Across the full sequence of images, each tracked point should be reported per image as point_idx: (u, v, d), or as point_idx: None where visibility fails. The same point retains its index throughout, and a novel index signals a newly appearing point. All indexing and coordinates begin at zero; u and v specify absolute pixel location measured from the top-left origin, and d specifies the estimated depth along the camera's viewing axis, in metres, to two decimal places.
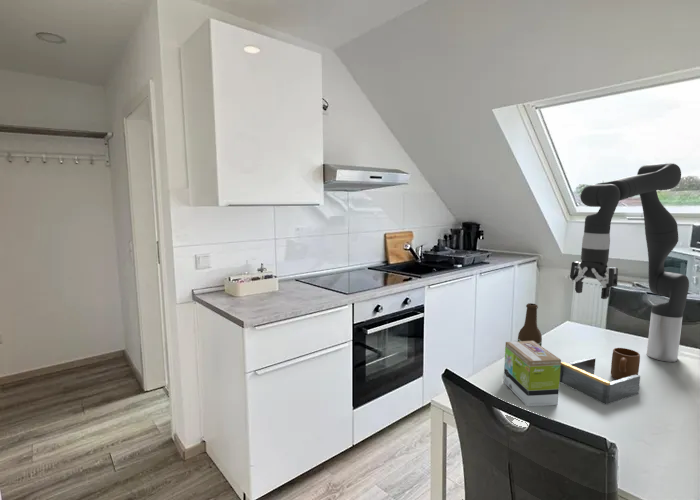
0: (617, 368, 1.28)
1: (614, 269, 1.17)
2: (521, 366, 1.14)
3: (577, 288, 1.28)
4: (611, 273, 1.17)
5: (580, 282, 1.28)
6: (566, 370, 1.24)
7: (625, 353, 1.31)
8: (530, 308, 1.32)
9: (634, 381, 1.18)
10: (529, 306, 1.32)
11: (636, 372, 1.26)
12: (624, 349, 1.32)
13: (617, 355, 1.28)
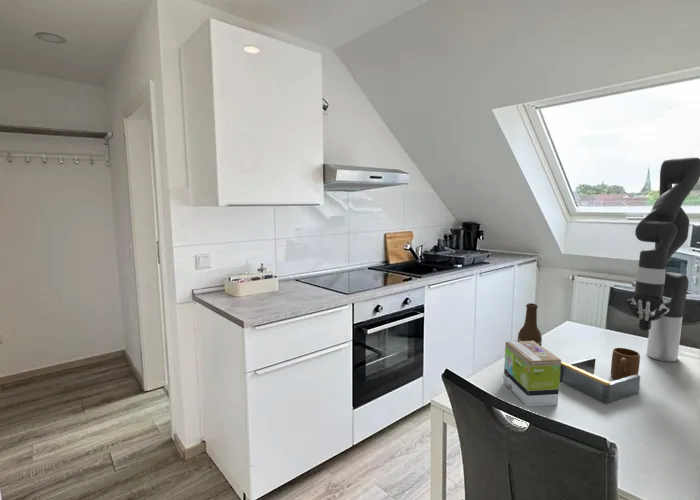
0: (617, 368, 1.28)
1: (667, 311, 1.23)
2: (521, 366, 1.14)
3: (642, 326, 1.29)
4: (661, 312, 1.23)
5: None
6: (566, 370, 1.24)
7: (625, 353, 1.32)
8: (530, 308, 1.32)
9: (634, 381, 1.18)
10: (529, 306, 1.33)
11: (636, 372, 1.26)
12: (624, 349, 1.32)
13: (617, 355, 1.28)
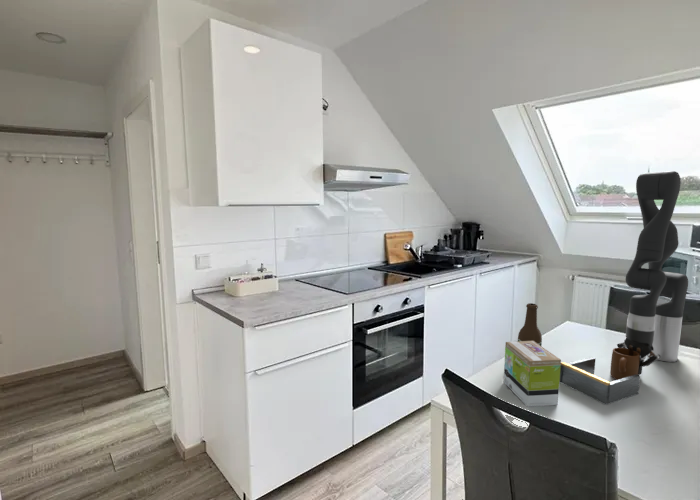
0: (617, 368, 1.28)
1: (657, 358, 1.24)
2: (521, 366, 1.14)
3: None
4: (652, 359, 1.25)
5: None
6: (566, 370, 1.24)
7: (625, 353, 1.31)
8: (530, 308, 1.32)
9: (634, 381, 1.18)
10: (529, 306, 1.32)
11: (636, 372, 1.26)
12: (624, 349, 1.32)
13: (617, 355, 1.28)
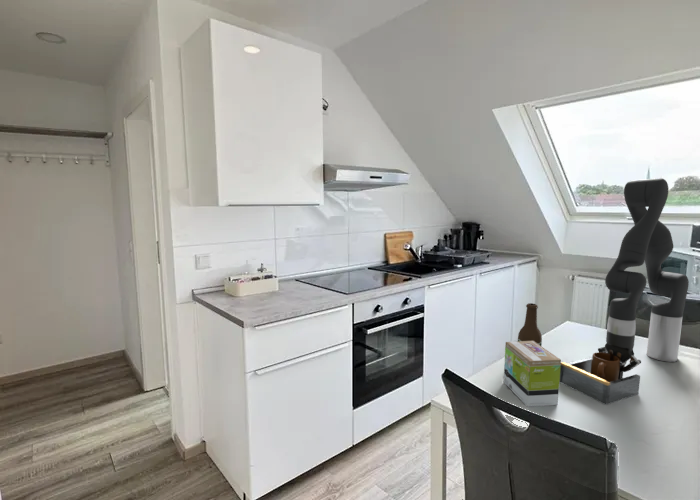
0: (596, 373, 1.24)
1: (637, 363, 1.20)
2: (521, 366, 1.14)
3: None
4: (632, 365, 1.21)
5: None
6: (566, 370, 1.24)
7: (605, 358, 1.27)
8: (530, 308, 1.32)
9: (634, 381, 1.18)
10: (529, 306, 1.32)
11: (615, 378, 1.22)
12: (604, 354, 1.28)
13: (596, 360, 1.24)
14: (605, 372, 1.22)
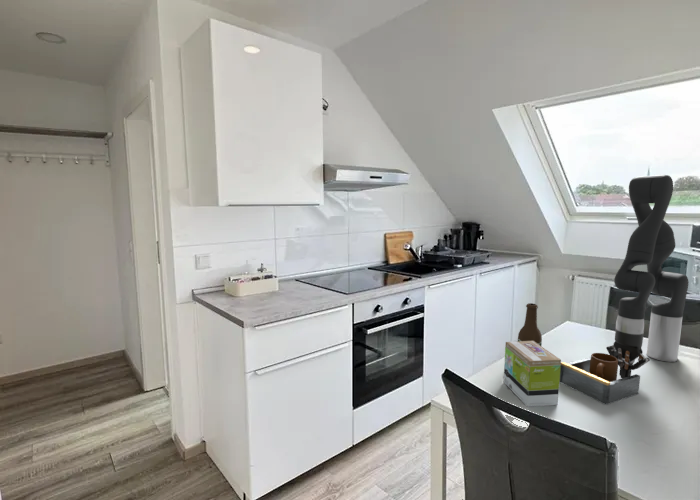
0: (595, 374, 1.24)
1: (646, 361, 1.22)
2: (521, 366, 1.14)
3: (622, 374, 1.28)
4: (640, 363, 1.23)
5: None
6: (566, 370, 1.24)
7: (604, 358, 1.27)
8: (530, 308, 1.32)
9: (634, 381, 1.18)
10: (529, 306, 1.33)
11: (614, 378, 1.22)
12: (603, 354, 1.27)
13: (595, 361, 1.24)
14: (604, 373, 1.22)
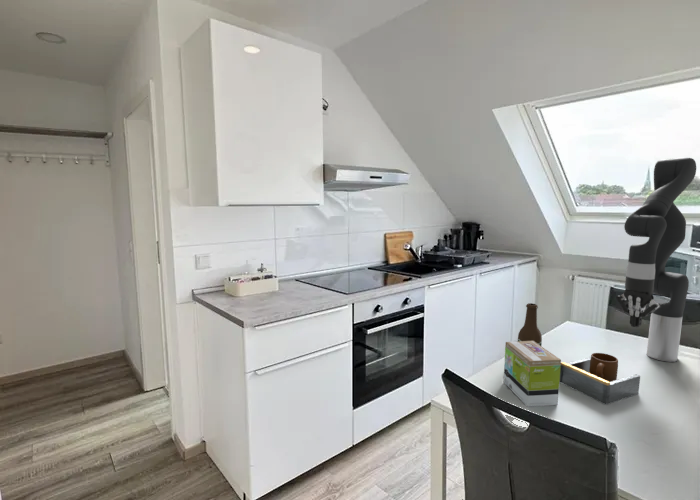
0: (595, 374, 1.24)
1: (657, 306, 1.20)
2: (521, 366, 1.14)
3: (632, 322, 1.27)
4: (652, 308, 1.21)
5: None
6: (566, 370, 1.24)
7: (604, 358, 1.27)
8: (530, 308, 1.32)
9: (634, 381, 1.18)
10: (529, 306, 1.33)
11: (614, 378, 1.22)
12: (603, 354, 1.27)
13: (595, 361, 1.24)
14: (604, 373, 1.22)
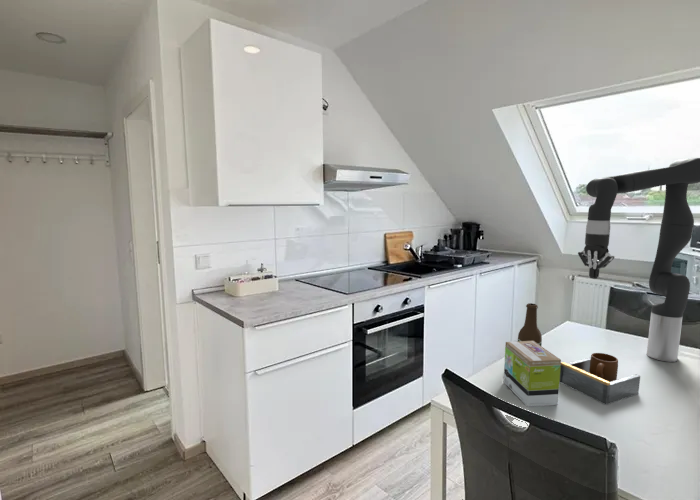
0: (595, 374, 1.24)
1: (611, 258, 1.36)
2: (521, 366, 1.14)
3: (591, 274, 1.43)
4: (606, 260, 1.37)
5: None
6: (566, 370, 1.24)
7: (604, 358, 1.27)
8: (530, 308, 1.32)
9: (634, 381, 1.18)
10: (529, 306, 1.32)
11: (614, 378, 1.22)
12: (603, 354, 1.27)
13: (595, 361, 1.24)
14: (604, 373, 1.22)
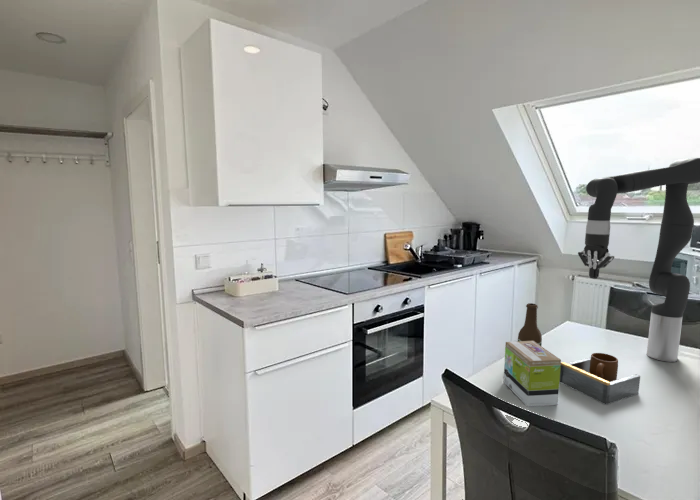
0: (595, 374, 1.24)
1: (611, 258, 1.36)
2: (521, 366, 1.14)
3: (591, 274, 1.43)
4: (606, 260, 1.37)
5: None
6: (566, 370, 1.24)
7: (604, 358, 1.27)
8: (530, 308, 1.32)
9: (634, 381, 1.18)
10: (529, 306, 1.33)
11: (614, 378, 1.22)
12: (603, 354, 1.27)
13: (595, 361, 1.24)
14: (604, 373, 1.22)
